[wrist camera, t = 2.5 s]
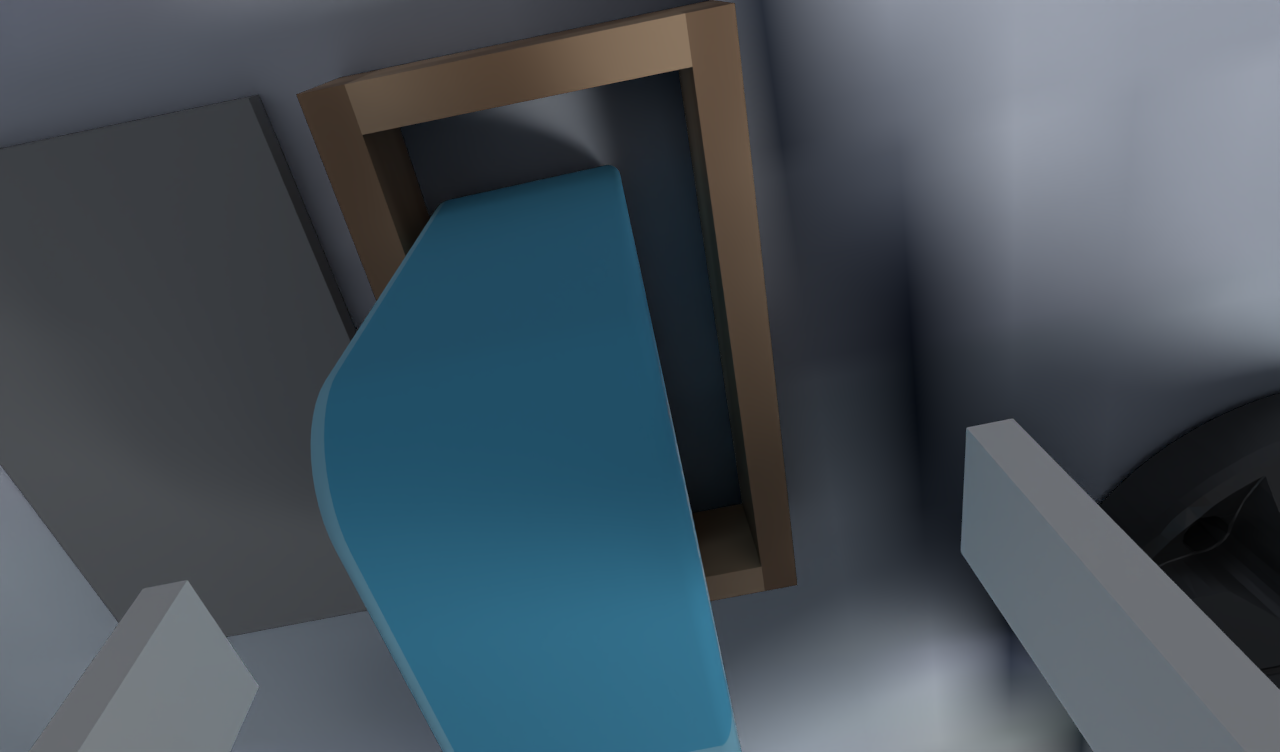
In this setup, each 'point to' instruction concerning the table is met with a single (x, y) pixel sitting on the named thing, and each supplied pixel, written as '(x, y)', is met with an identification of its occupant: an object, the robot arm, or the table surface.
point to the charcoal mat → (171, 362)
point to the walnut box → (721, 158)
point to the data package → (524, 485)
